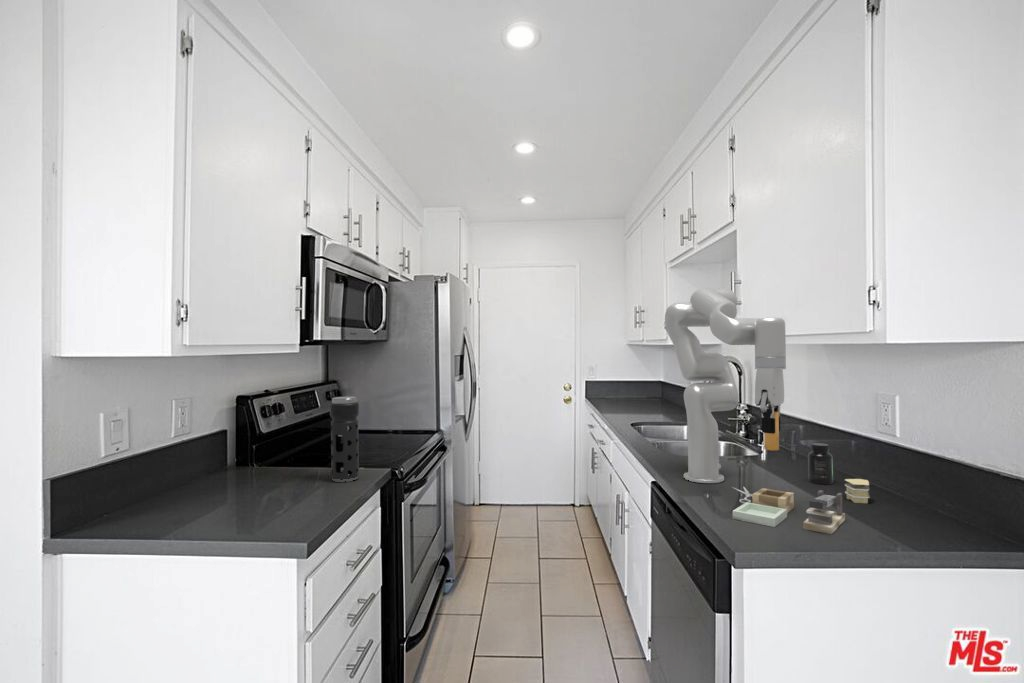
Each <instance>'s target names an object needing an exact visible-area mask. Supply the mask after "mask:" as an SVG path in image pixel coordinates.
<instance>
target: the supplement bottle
mask: <svg viewBox="0 0 1024 683" xmlns="http://www.w3.org/2000/svg"><path fill="white" fill-rule="evenodd" d="M810 445H811V448H810V449H811V451H809V453H808V454H807V465H808V466H807V467H808V468H807V470H808V471H807V472H808V473H807V474H808V482H809V483H812V484H815V485H823V486H826V485H827V486H828V485H829V486H830V485H832V484H833V483H834V464H833V462H834V461H833V455H832V454H831V453H830V452H829V451H830V449H829V448H830V446H829V444H826V443H823V442H822V443H821V442H820V443H819V442H815V443H811V444H810Z"/></svg>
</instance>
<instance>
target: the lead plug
mask: <svg viewBox="0 0 1024 683" xmlns="http://www.w3.org/2000/svg"><path fill="white" fill-rule="evenodd" d="M769 406H771V405H770V404H769ZM769 410H770V409H769ZM779 417H780V416H779V412H776V411H774V418H775V433H774V434H772V433H763V443H764V444H763V447H764V450H766V451H780V431H779Z"/></svg>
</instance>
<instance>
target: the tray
mask: <svg viewBox="0 0 1024 683" xmlns="http://www.w3.org/2000/svg"><path fill="white" fill-rule="evenodd" d="M745 502H746V503H742V504H741V505H740V506H738V507H737V508H735V509H733V510H732V519H733V520H737V521H741V522H747V523H751V524H757V525H763V526H768V527H772V528H775V527H776V526H778V525H779V524H780V523H782V522H783V521H784V520H786V519H787V518H788V513H787V509H783V508H777V507H771V506H766V505H760V504H754V503H753V502H751V503H749V501H745Z"/></svg>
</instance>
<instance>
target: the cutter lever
mask: <svg viewBox="0 0 1024 683" xmlns="http://www.w3.org/2000/svg"><path fill="white" fill-rule="evenodd" d="M835 504H836V495H830V494H829V495H828V494H823V495H822V496H819V497H817V496H816V497H815V498H813V499H810V500H809V508H815V509H824V510H826V509H827V508H828V507H831V506H832V505H835Z"/></svg>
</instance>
